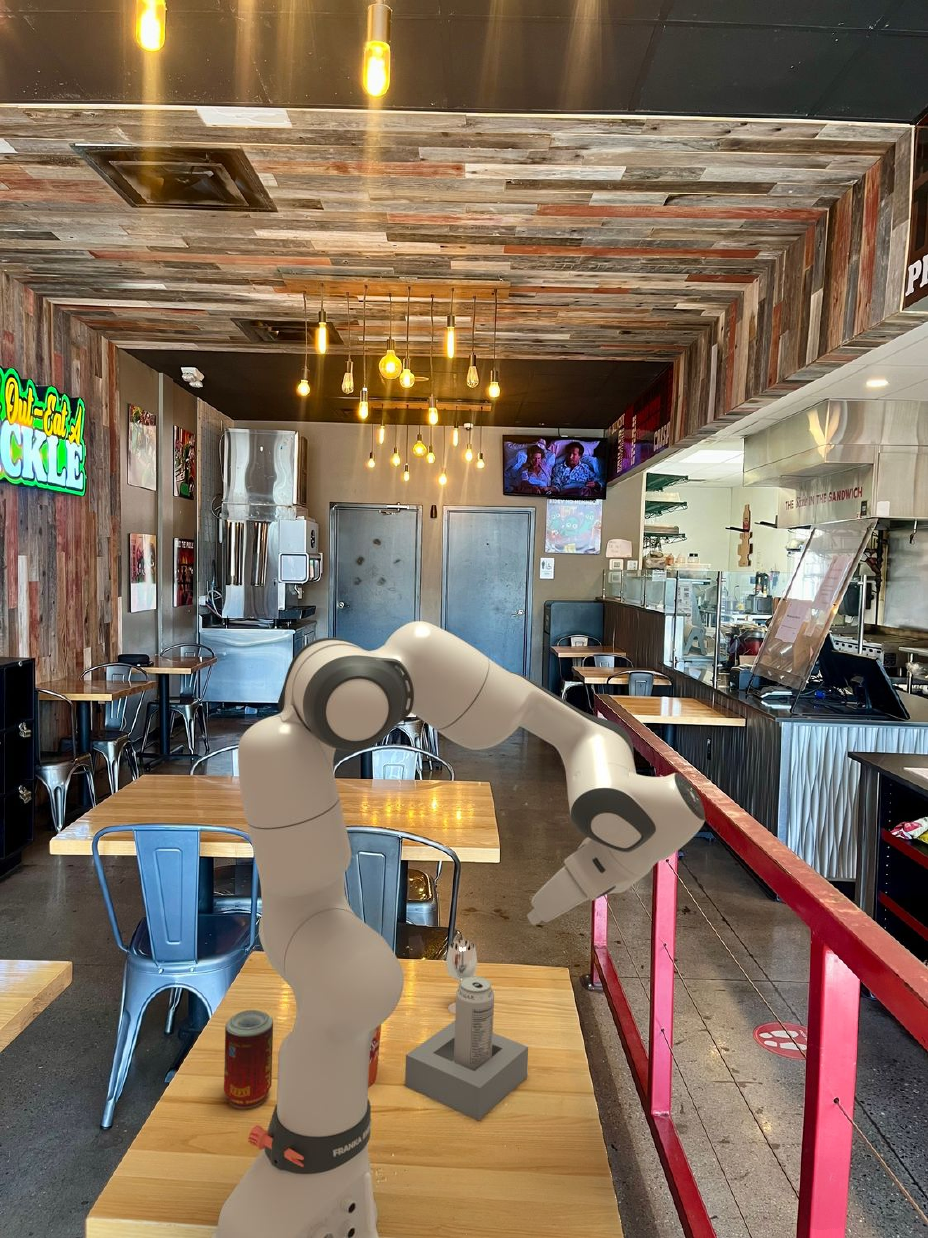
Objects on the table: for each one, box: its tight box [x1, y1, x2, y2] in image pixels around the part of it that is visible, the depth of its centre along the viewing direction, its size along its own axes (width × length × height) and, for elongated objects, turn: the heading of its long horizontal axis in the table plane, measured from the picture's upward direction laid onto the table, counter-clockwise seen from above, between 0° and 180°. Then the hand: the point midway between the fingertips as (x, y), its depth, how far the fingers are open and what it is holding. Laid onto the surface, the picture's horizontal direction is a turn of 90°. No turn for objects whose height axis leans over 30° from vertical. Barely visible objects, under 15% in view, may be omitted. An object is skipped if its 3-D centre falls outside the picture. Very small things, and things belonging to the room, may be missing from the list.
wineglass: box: [445, 939, 478, 1015], centre depth 157 cm, size 6×6×12 cm
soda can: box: [223, 1009, 274, 1109], centre depth 128 cm, size 7×7×12 cm
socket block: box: [404, 1020, 529, 1121], centre depth 134 cm, size 14×14×5 cm
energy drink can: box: [454, 975, 495, 1071], centre depth 133 cm, size 6×6×15 cm
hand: (548, 909), depth 125 cm, fingers open, 8 cm apart
